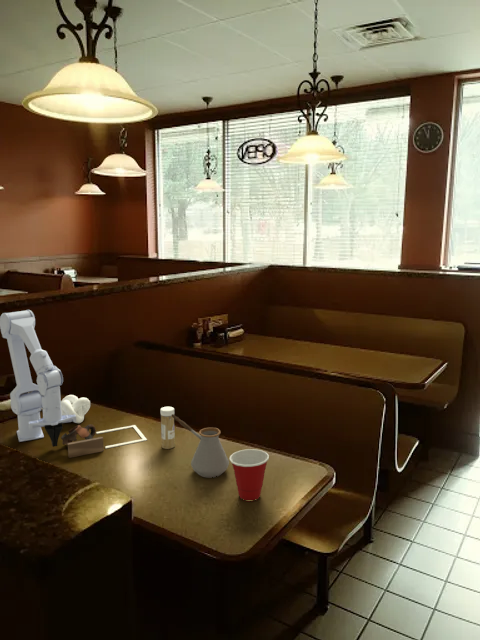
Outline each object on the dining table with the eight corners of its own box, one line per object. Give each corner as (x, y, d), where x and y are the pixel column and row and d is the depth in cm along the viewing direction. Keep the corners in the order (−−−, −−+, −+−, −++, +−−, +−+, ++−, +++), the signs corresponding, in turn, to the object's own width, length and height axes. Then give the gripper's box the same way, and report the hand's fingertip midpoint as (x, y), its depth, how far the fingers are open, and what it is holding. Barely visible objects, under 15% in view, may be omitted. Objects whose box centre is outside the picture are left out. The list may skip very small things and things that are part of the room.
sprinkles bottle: (175, 449, 172) (174, 410, 169) (161, 449, 171) (160, 411, 169) (175, 443, 176) (174, 405, 174) (161, 443, 176) (160, 406, 173)
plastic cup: (245, 482, 150) (246, 443, 148) (276, 494, 144) (277, 454, 141) (221, 497, 142) (221, 456, 140) (252, 511, 136) (252, 468, 133)
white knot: (84, 411, 204) (82, 390, 203) (97, 420, 195) (95, 398, 193) (55, 418, 197) (53, 396, 195) (67, 428, 188) (66, 405, 186)
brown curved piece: (82, 457, 167) (68, 436, 166) (66, 461, 173) (53, 441, 171) (107, 435, 176) (93, 415, 175) (91, 440, 182) (78, 421, 181)
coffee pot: (236, 469, 158) (236, 423, 155) (213, 485, 149) (213, 436, 146) (183, 451, 170) (182, 408, 167) (159, 464, 161) (157, 419, 158)
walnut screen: (68, 456, 166) (67, 443, 165) (102, 449, 171) (102, 436, 170) (69, 457, 165) (68, 444, 164) (103, 450, 170) (103, 438, 169)
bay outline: (96, 432, 184) (96, 432, 184) (135, 425, 191) (135, 424, 191) (105, 448, 172) (105, 447, 172) (147, 440, 178) (147, 439, 178)
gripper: (29, 414, 161) (32, 454, 164) (77, 406, 168) (79, 445, 171) (26, 406, 168) (30, 446, 170) (73, 399, 174) (75, 437, 177)
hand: (54, 445), depth 171 cm, fingers closed
